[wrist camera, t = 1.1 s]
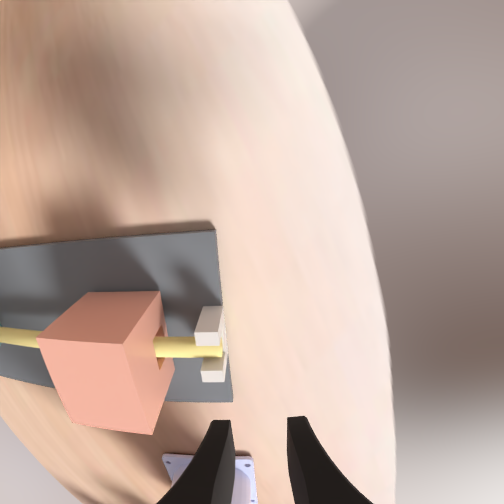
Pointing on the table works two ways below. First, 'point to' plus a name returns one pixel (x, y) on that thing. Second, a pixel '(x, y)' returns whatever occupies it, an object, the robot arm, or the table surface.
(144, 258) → the cord rig
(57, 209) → the table surface
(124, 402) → the marker sleeve
